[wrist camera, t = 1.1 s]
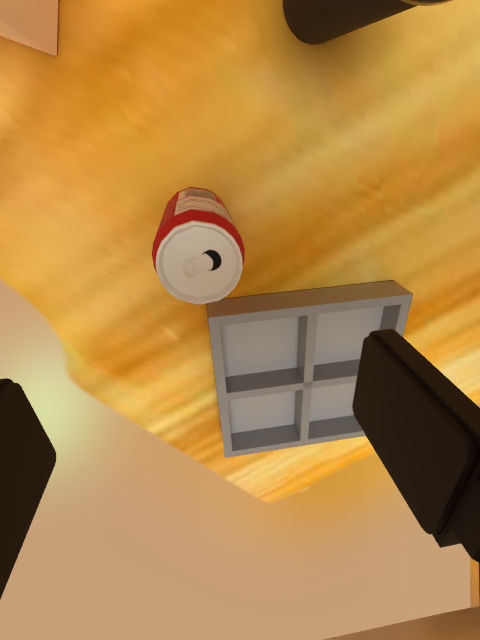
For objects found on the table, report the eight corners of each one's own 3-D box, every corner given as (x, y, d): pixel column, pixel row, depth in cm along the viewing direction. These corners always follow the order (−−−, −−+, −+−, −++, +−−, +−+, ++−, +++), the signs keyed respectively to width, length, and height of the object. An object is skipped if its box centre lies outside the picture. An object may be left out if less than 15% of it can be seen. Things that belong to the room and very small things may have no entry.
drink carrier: (393, 280, 34) (413, 294, 31) (365, 413, 44) (378, 433, 41) (206, 300, 32) (207, 317, 29) (222, 434, 42) (225, 457, 39)
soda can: (178, 258, 29) (172, 322, 19) (153, 198, 27) (131, 236, 16) (234, 239, 29) (259, 294, 19) (216, 177, 26) (233, 202, 16)
